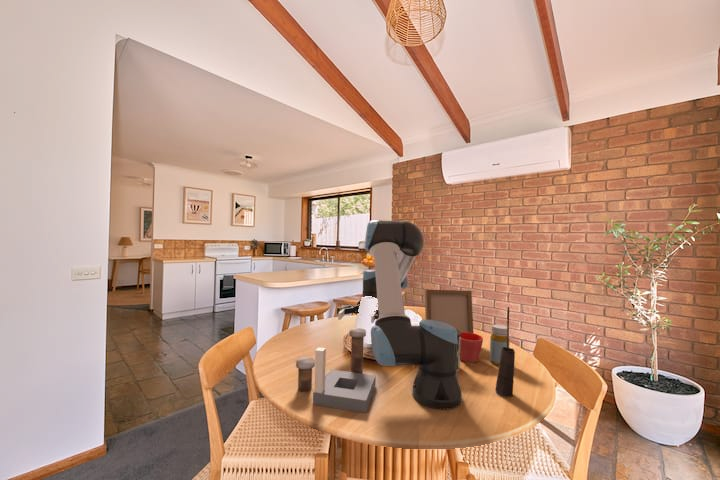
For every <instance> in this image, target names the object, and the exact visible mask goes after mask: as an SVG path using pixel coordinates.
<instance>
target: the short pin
mask: <svg viewBox="0 0 720 480" xmlns="http://www.w3.org/2000/svg"><path fill="white" fill-rule="evenodd" d="M295 361H296V362H295V367H296V368H297V369H298V373H297V375H298V376H297V377H298V378H297V390H298V391H299V392H301V393H306V392H309V391H311V390H312V388H313V387H312V386H313V383H312V382H313V368H315V359H314V358H313V357H310V356H304V357H299V358H298V359H296V360H295Z"/></svg>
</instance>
